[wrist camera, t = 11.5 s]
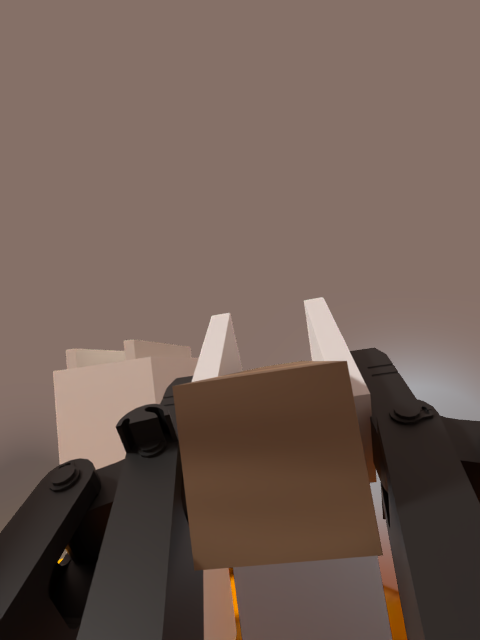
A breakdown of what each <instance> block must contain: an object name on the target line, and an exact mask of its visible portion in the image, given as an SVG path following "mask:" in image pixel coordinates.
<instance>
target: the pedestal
mask: <svg viewBox="0 0 480 640" xmlns="http://www.w3.org/2000/svg"><path fill="white" fill-rule="evenodd" d="M233 571H234V579H235V587H236V595H237V602H238V610H239V618H240V626H241V633H242V640H392V635H391V629H390V623H389V618H388V612H387V607H386V601H385V595H384V590H383V584H382V578H381V573H380V567H379V562H378V556H368V557H355V558H343V559H331V560H319V561H306V562H294V563H282V564H270V565H257V566H245V567H233Z"/></svg>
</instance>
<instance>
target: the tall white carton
mask: <svg viewBox="0 0 480 640" xmlns="http://www.w3.org/2000/svg"><path fill="white" fill-rule="evenodd" d="M124 349H125V351H112V350H93V349H69V350H66V360H67V369H66V370H59V371H53V378H54V391H55V404H56V419H57V431H58V446H59V459H60V465H61V464H63V463H65V462H67V461H70V460H74V459H79V458H82V459H88V460H90V461H91V462H92V463H93V465H94V467H95V469H96V470H97V469H100V468H102V467H105V466H108V465H111V464H113V463H116V462H118V461H121V460H123V459H125V456H126V451H125V449H124V446H123V444H122V441H121V439H120V437H119V434H118V432H117V429H116V425H117V423H118V422H119V420H120V419H121V418H122V417H123V416H124V415H126V414H127V413H128V412H130V411H132V410H134V409H135V408H138V407H141V406H144V405H148V404H160V403H161V401H162V399H163V396H164V393H165V391H166V388H167V387H168V386H169V385H170V384H171V383H172V382H173V381H174V380H175V379H176V378H180V377H187V376H194V372H195V369H196V366H197V363H198V359H199V358H192V356H191V348H190V347H188V346H180V345H173V344H165V343H158V342H150V341H142V340H135V339H132V340H126V341H124ZM66 552H67V551H66ZM203 588H204V640H236V635H237V631H236V623H235V615H234V607H233V600H232V592H231V584H230V576H229V568H221V569H209V570H203Z"/></svg>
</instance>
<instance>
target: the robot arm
mask: <svg viewBox="0 0 480 640" xmlns="http://www.w3.org/2000/svg"><path fill="white" fill-rule="evenodd" d="M304 304H305V312H306V319H307V326H308V334H309V341H310V348H311V356H312V361H347V364H348V369H349V375H350V380H351V386H352V391H353V396H354V402H355V407H356V413H357V418H358V423H359V429H360V434H361V440H362V445H363V450H364V456H365V461H366V467H367V472H368V477H369V483H371V482H376V470H377V473H378V475H379V478H380V481H381V493H382V508H383V519H386V523H387V528H388V534H389V540H390V545H391V551H392V556H393V562H394V568H395V573H396V579H397V584H398V590H399V595H400V601H401V606H402V612H403V617H404V623H405V628H406V634H407V639H408V640H480V421H470V420H458V419H452V418H446V417H443V416H440V415H439V413H438V412H437V411H436V410H435V409H434V407H433V406H431V405H429V404H427V403H426V402H424V401H421V400H417V399H416V398H415V396H414V395H413V393H412V392H411V390H410V389H409V387H408V386H407V384H406V383H405V381H404V380H403V378H402V377H401V375H400V374H399V373H398V371H397V369H396V368H395V366H394V365H393V364H392V362H391V361H390V359H389V358H388V356H387V355H386V354H385V353H383V352H381V351H379V350H378V349H376V348H369V349H362V350H356V351H349V349H348V347H347V345H346V343H345V341H344V339H343V337H342V335H341V333H340V331H339V329H338V327H337V325H336V323H335V321H334V319H333V316H332V314H331V312H330V311H329V308H328V306H327V304H326V302H325V300H324V298H323V297H322V298H316V299H310V300H304ZM242 371H243V369H242V364H241V360H240V356H239V351H238V346H237V342H236V338H235V333H234V329H233V324H232V320H231V315H230V313H226V314H220V315H214V316H212V317H211V320H210V324H209V327H208V330H207V333H206V337H205V340H204V343H203V346H202V350H201V353H200V356H199V359H198V363H197V366H196V369H195V372H194V376H187V377H180V378H176V379H175V380H174V381H173V382H172V383H171V384H170V385H169V386H168V387H167V388H166V391H165V393H164V396H163V399H162V401H161V403H160V404H148V405H144V406H141V407H138V408H135V409H134V410H132V411H130V412H128V413H127V414H126V415H124V416H123V417H122V418H121V419H120V420H119V422H118V423H117V425H116V429H117V432H118V434H119V437H120V439H121V441H122V444H123V446H124V449H125V451H126V456H125V459H123V460H121V461H118V462H116V463H113V464H111V465H108V466H105V467H102V468H100V469H97V470H96V469H95V467H94V465H93V463H92V462H91V461H90V460H88V459H82V458H79V459H74V460H70V461H67V462H65V463H63V464H61V465H59V466H58V467H56V468H55V469H53V470H52V471H50V472H49V473H48V474H47V475H46V476H45V477H44V478H43V479H42V480H41V481H40V483H39V484H38V485H37V487H36V488H35V489H34V490H33V492H32V493H31V494H30V496H29V497H28V498H27V500H26V501H25V502H24V503H23V505H22V506H21V507H20V508H19V510H18V511H17V512H16V513H15V515H14V516H13V517H12V519H11V520H10V521H9V522H8V524H7V525H6V526H5V528H4V529H3V530H2V531H1V533H0V640H204V588H203V570H196V571H194V563H193V554H192V546H191V538H190V529H189V521H188V513H187V504H186V496H185V488H184V479H183V471H182V463H181V454H180V446H179V438H178V429H177V421H176V413H175V404H174V396H173V388H172V386H176V385H180V384H185V383H190V382H195V381H199V380H204V379H209V378H214V377H219V376H223V375H228V374H233V373H237V372H242ZM65 549H66V551H67V554H66V555H65V557H64V559H63V560H62V561H61V562H60V564H58V563H57V562H58V560H59V559H60V557H61V555H62V553H63V552H64V550H65Z"/></svg>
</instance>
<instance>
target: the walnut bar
mask: <svg viewBox="0 0 480 640" xmlns="http://www.w3.org/2000/svg"><path fill="white" fill-rule="evenodd" d="M172 388H173V396H174V404H175V413H176V421H177V429H178V438H179V446H180V454H181V463H182V471H183V479H184V488H185V496H186V504H187V513H188V521H189V529H190V538H191V546H192V554H193V563H194V571H196V570H209V569H221V568H233V567H245V566H257V565H270V564H282V563H294V562H306V561H319V560H331V559H343V558H355V557H368V556H380V555H383V553H382V548H381V542H380V537H379V532H378V527H377V521H376V516H375V510H374V505H373V499H372V494H371V489H370V483H369V477H368V472H367V467H366V461H365V456H364V450H363V445H362V440H361V434H360V429H359V423H358V418H357V413H356V407H355V402H354V396H353V391H352V386H351V380H350V375H349V369H348V364H347V361H299V362H292V363H286V364H279V365H272V366H266V367H261V368H256V369H252V370H247V371H242V372H237V373H233V374H228V375H223V376H219V377H214V378H209V379H204V380H199V381H195V382H190V383H185V384H180V385H176V386H172Z"/></svg>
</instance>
